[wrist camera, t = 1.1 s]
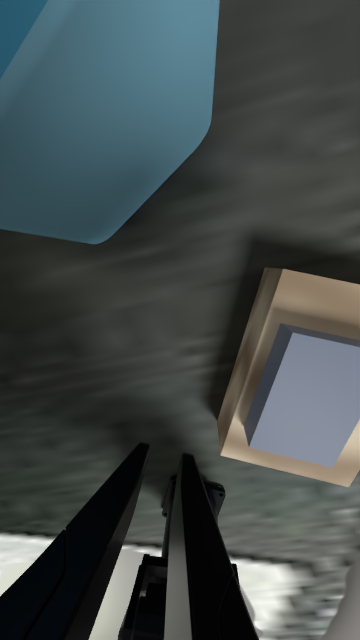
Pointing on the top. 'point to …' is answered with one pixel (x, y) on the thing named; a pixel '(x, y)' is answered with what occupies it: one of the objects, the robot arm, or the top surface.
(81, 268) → the top surface
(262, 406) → the block
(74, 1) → the data package
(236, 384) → the beige shallow box
